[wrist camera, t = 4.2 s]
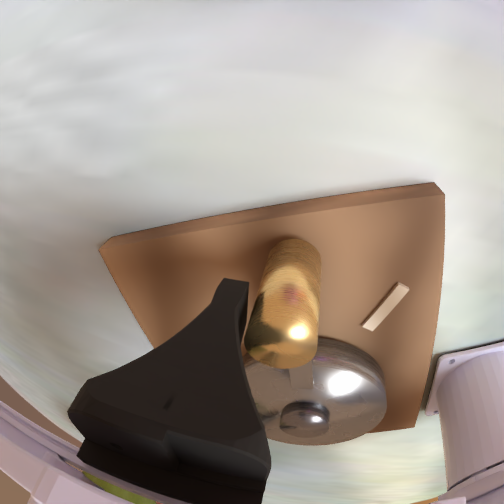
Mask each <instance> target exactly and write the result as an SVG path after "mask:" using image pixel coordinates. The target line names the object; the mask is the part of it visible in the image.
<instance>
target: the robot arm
mask: <svg viewBox="0 0 504 504" xmlns="http://www.w3.org/2000/svg"><path fill="white" fill-rule="evenodd" d="M248 294H249V282H246V281H240V280H234V279H228V278H223V280H222V281H221V282H220V284H219V285H218V287H217V289H216V291H215V293H214V296H213V299H212V301H211V303H210V304H209V305H208V306H207V307H206V308H205V309H204V310H203V311H202V312H201V313H200V314H199V315H198V316H197V317H196V318H194V319H193V320H192V321H191V322H190V323H189V324H188V325H186V326H185V327H184V328H183V329H182V330H180V331H179V332H178V333H177V334H175V335H174V336H173V337H171V338H170V339H168V340H167V341H166V342H164V343H163V344H161V345H160V346H158V347H156V348H155V349H153V350H152V351H150V352H148V353H147V354H145V355H143V356H141V357H140V358H138V359H136V360H134V361H132V362H130V363H128V364H126V365H124V366H122V367H120V368H117V369H115V370H113V371H110V372H107V373H105V374H102V375H99V376H97V377H94V378H91V379H88V380H87V381H86V383H85V384H84V385H83V387H82V388H81V389H80V391H79V392H78V394H77V396H76V397H75V399H74V401H73V403H72V404H71V406H70V408H69V409H68V411H67V412H68V416H69V419H70V420H71V422H72V423H73V424H74V425H75V427H76V428H77V429H78V430H79V431H80V433H81V434H82V435H83V436H84V437H85V440H84V442H83V444H82V446H81V447H80V448H78V447H77V446H75V445H73V444H70V443H69V442H67V441H65V440H63V439H61V438H59V437H57V436H56V435H54V434H52V433H50V432H49V431H47V430H45V429H43V428H42V427H40V426H38V425H37V424H35V423H33V422H32V421H30V420H29V419H27V418H25V417H24V416H22V415H21V414H19V413H18V412H16V411H14V410H13V409H12V408H10V407H9V406H7V405H6V404H4V403H3V402H1V401H0V469H1V470H2V471H3V472H4V473H6V474H7V475H8V476H10V477H11V478H12V479H13V480H14V481H15V482H17V483H18V484H19V485H21V486H22V487H23V488H25V489H26V490H27V491H29V492H30V493H31V496H30V498H29V501H28V503H27V504H134V503H132V502H129V501H127V500H124V499H122V498H119V497H117V496H115V495H112V494H110V493H108V492H106V491H105V490H104V489H103V488H101V487H100V486H98V485H97V484H95V483H94V482H92V481H91V480H90V479H88V478H87V477H86V476H85V475H84V474H83V473H82V472H80V471H78V470H77V469H75V468H73V467H72V466H70V465H69V464H71V465H73V466H75V467H77V468H79V469H81V470H83V471H85V472H87V473H89V474H91V475H93V476H95V477H97V478H99V479H102V480H104V481H106V482H108V483H110V484H113V485H115V486H117V487H120V488H122V489H125V490H127V491H130V492H132V493H135V494H137V495H140V496H143V497H145V498H148V499H151V500H154V501H157V502H160V503H163V504H261V503H262V498H263V493H264V491H265V486H266V481H267V478H268V475H269V473H270V470H271V456H270V451H269V446H268V441H267V437H266V432H265V427H264V425H263V422H262V420H261V418H260V415H259V412H258V410H257V407H256V405H255V402H254V399H253V396H252V393H251V389H250V386H249V382H248V379H247V376H246V372H245V367H244V363H243V358H242V353H241V343H242V339H243V335H244V331H245V327H246V323H247V310H248ZM435 414H439V417H440V424H441V431H442V439H443V447H444V457H445V467H446V480H447V492H446V493H444V494H442V495H440V496H438V501H436V502H432V503H429V504H504V342H500V343H496V344H492V345H488V346H484V347H479V348H475V349H470V350H465V351H460V352H455V353H450V354H445V355H442V356H441V357H440V358H439V359H438V362H437V366H436V371H435V375H434V379H433V383H432V387H431V391H430V394H429V398H428V402H427V405H426V408H425V415H427V416H430V415H435ZM65 461H66V462H68V463H69V464H67V463H66V462H65Z"/></svg>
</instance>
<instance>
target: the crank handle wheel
mask: <svg viewBox="0 0 504 504" xmlns="http://www.w3.org/2000/svg"><path fill="white" fill-rule="evenodd" d="M321 266H322V260H321V256H320V254H319V252H318V250H317V249H316V248H315V247H314V246H313V245H312V244H310V243H309V242H307V241H304V240H301V239H286V240H283V241H281V242H279V243H277V244H276V245H275V246H274V247H273V248H272V249H271V251H270V253H269V256H268V259H267V263H266V266H265V270H264V273H263V276H262V280H261V283H260V286H259V290H258V293H257V296H256V300H255V303H254V307H253V310H252V313H251V317H250V320H249V323H248V326H247V330H246V333H245V336H244V345H245V348H246V350H247V352H248V353H246V354H245V355H244V356H243V357H242V358H243V363H244V367H245V372H246V376H247V379H248V382H249V386H250V389H251V393H252V396H253V399H254V402H255V405H256V407H257V410H258V412H259V415H260V418H261V420H262V422H263V425H264V427H265V432H266V437H267V438H269V439H272V440H275V441H279V442H284V443H289V444H297V445H328V444H335V443H340V442H344V441H348V440H351V439H354V438H357V437H359V436H361V435H364V434H365V433H367V432H369V431H370V430H372V429H373V428H374V427H376V426H377V425H378V424H379V423H380V422H381V420H382V419H383V418H384V416H385V413H386V409H387V401H386V387H385V377H384V373H383V370H382V368H381V367H380V365H379V363H378V362H377V361H376V360H375V359H374V358H373V357H371V356H370V355H369V354H367V353H366V352H364V351H362V350H361V349H359V348H357V347H354V346H352V345H349V344H346V343H343V342H340V341H335V340H330V339H323V338H318V328H319V312H320V292H321Z"/></svg>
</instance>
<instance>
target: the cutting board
mask: <svg viewBox="0 0 504 504" xmlns="http://www.w3.org/2000/svg"><path fill="white" fill-rule="evenodd" d="M286 239H301V240H304V241H307V242H309V243H310V244H312V245H313V246H314V247H315V248H316V249H317V250H318V252H319V254H320V256H321V260H322V266H321V292H320V312H319V328H318V338H323V339H330V340H335V341H340V342H343V343H346V344H349V345H352V346H354V347H357V348H359V349H361V350H362V351H364V352H366V353H367V354H369V355H370V356H371V357H373V358H374V359H375V360H376V361H377V362H378V363H379V365H380V367H381V368H382V370H383V373H384V377H385V387H386V401H387V409H386V413H385V416H384V418H383V419H382V420H381V422H380V423H379V424H378V425H377V426H376V427H374V428H373V429H372V430H370V431H369V432H367V433H374V432H383V431H391V430H399V429H406V428H413V427H415V423H416V420H417V416H418V413H419V409H420V405H421V402H422V398H423V394H424V389H425V385H426V381H427V376H428V372H429V367H430V362H431V357H432V352H433V346H434V340H435V334H436V328H437V321H438V313H439V305H440V297H441V287H442V276H443V262H444V242H445V194H444V193H443V192H442V191H441V189H440V188H439V187H438V186H437V185H436V184H435V183H426V184H417V185H409V186H401V187H393V188H386V189H378V190H371V191H364V192H357V193H350V194H343V195H336V196H329V197H323V198H316V199H310V200H304V201H297V202H291V203H285V204H279V205H273V206H267V207H262V208H256V209H250V210H244V211H239V212H233V213H228V214H223V215H217V216H212V217H207V218H201V219H196V220H191V221H186V222H181V223H176V224H171V225H166V226H161V227H156V228H151V229H147V230H142V231H137V232H133V233H128V234H123V235H119V236H114V237H111V238H110V239H109V240H108V241H107V242H106V243H105V244H104V245H103V246H102V247H101V248H100V249H99V252H100V254H101V256H102V258H103V260H104V262H105V264H106V266H107V267H108V269H109V271H110V273H111V275H112V277H113V279H114V281H115V283H116V284H117V286H118V288H119V290H120V292H121V293H122V295H123V297H124V299H125V301H126V302H127V304H128V306H129V308H130V309H131V311H132V313H133V314H134V316H135V318H136V320H137V321H138V323H139V325H140V326H141V328H142V330H143V331H144V333H145V334H146V336H147V338H148V339H149V341H150V342H151V344H152V346H153V347H154V349H155V348H156V347H158V346H160V345H161V344H163V343H164V342H166V341H167V340H168V339H170V338H171V337H173V336H174V335H175V334H177V333H178V332H179V331H180V330H182V329H183V328H184V327H185V326H186V325H188V324H189V323H190V322H191V321H192V320H193V319H194V318H196V317H197V316H198V315H199V314H200V313H201V312H202V311H203V310H204V309H205V308H206V307H207V306H208V305H209V304H210V303H211V301H212V299H213V296H214V293H215V291H216V289H217V287H218V285H219V284H220V282H221V281H222V280H223V278H228V279H234V280H240V281H246V282H249V294H248V310H247V323H246V327H245V331H244V335H243V339H242V343H241V353H242V357H243V356H244V355H245V354H246V353H248V352H247V350H246V348H245V345H244V336H245V333H246V330H247V326H248V323H249V320H250V317H251V313H252V310H253V307H254V303H255V300H256V296H257V293H258V290H259V286H260V283H261V280H262V276H263V273H264V270H265V266H266V263H267V259H268V256H269V253H270V251H271V249H272V248H273V247H274V246H275V245H276V244H277V243H279V242H281V241H283V240H286Z"/></svg>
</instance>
